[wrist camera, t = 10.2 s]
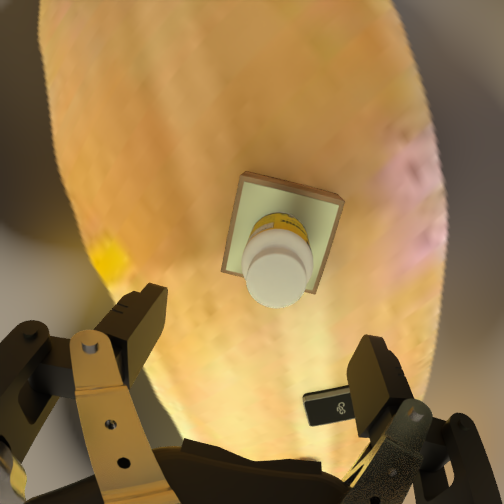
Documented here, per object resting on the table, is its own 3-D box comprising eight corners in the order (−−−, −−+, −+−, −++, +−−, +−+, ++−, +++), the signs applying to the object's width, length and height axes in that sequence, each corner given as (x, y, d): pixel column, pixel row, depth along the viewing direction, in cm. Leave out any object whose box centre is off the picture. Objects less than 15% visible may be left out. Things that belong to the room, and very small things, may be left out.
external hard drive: (302, 391, 42) (302, 401, 40) (374, 376, 39) (377, 385, 38) (309, 418, 44) (309, 427, 42) (375, 404, 42) (377, 413, 40)
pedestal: (227, 257, 35) (220, 273, 31) (245, 171, 31) (239, 175, 27) (312, 278, 34) (315, 295, 30) (337, 194, 31) (345, 201, 27)
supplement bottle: (318, 245, 29) (332, 294, 19) (271, 274, 30) (264, 330, 21) (287, 198, 27) (288, 227, 18) (239, 230, 29) (217, 272, 20)
